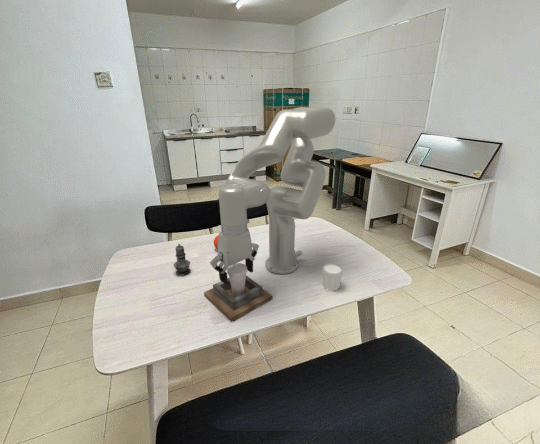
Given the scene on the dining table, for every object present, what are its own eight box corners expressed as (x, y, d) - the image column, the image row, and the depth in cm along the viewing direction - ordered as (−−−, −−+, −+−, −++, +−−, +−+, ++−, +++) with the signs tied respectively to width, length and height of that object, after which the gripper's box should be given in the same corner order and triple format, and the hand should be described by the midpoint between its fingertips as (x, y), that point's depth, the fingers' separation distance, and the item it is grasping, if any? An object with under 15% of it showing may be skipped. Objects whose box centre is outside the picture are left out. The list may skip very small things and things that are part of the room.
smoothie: (229, 287, 96) (226, 251, 91) (248, 286, 97) (246, 250, 91) (228, 300, 91) (225, 262, 85) (248, 299, 91) (247, 261, 85)
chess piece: (186, 277, 105) (182, 248, 100) (172, 275, 106) (167, 246, 101) (193, 268, 110) (190, 240, 106) (179, 267, 111) (175, 239, 107)
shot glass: (329, 294, 96) (331, 276, 93) (317, 283, 101) (318, 266, 99) (345, 288, 99) (347, 271, 96) (332, 278, 104) (334, 261, 101)
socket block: (243, 277, 105) (243, 267, 103) (272, 299, 94) (272, 287, 92) (204, 295, 95) (203, 284, 93) (231, 322, 84) (230, 309, 82)
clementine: (234, 246, 127) (233, 231, 124) (230, 253, 121) (229, 238, 118) (216, 245, 128) (215, 230, 125) (212, 252, 121) (210, 237, 119)
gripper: (250, 215, 92) (251, 262, 99) (201, 231, 82) (206, 281, 88) (265, 223, 87) (265, 271, 94) (215, 240, 76) (219, 292, 83)
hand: (237, 276), depth 91 cm, fingers open, 9 cm apart
